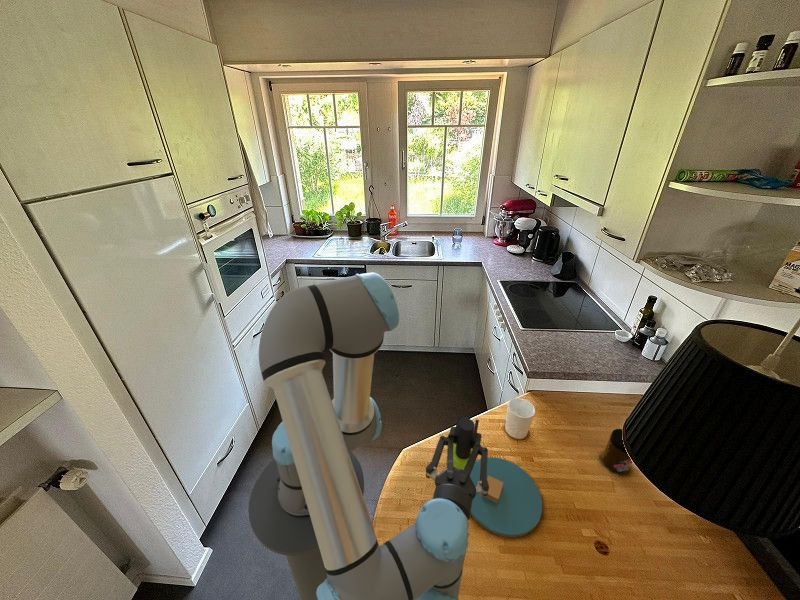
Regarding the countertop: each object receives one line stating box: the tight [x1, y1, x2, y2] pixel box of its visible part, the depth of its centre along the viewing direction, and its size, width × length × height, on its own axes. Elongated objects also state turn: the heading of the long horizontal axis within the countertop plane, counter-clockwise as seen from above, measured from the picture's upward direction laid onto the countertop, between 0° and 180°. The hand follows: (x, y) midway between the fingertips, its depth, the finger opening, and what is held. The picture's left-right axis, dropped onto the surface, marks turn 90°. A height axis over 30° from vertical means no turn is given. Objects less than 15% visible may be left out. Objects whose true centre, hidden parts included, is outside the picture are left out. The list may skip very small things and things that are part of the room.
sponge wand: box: [445, 417, 475, 470], centre depth 77 cm, size 6×6×13 cm
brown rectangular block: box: [482, 476, 503, 504], centre depth 83 cm, size 4×5×2 cm
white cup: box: [504, 397, 536, 440], centre depth 100 cm, size 8×8×10 cm
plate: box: [470, 457, 543, 538], centre depth 84 cm, size 20×20×1 cm
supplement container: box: [601, 428, 633, 474], centre depth 90 cm, size 7×7×10 cm
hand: (468, 421), depth 81 cm, fingers closed on sponge wand, 4 cm apart
